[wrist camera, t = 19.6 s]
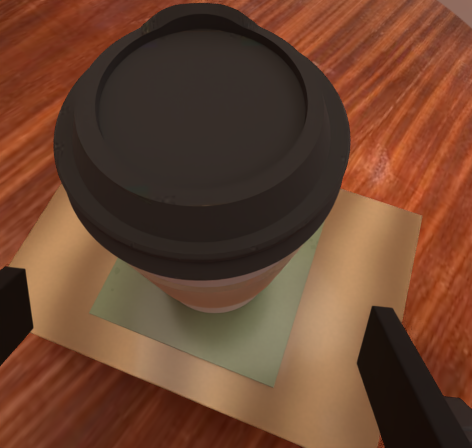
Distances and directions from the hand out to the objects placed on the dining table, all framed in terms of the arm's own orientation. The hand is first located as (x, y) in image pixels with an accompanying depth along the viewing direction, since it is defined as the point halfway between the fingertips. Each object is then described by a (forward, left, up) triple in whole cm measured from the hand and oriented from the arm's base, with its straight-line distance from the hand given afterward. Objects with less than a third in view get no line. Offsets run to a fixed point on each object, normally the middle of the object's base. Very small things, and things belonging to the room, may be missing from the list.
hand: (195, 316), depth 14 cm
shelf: (+1, -5, -17) cm, 18 cm away
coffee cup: (+1, -5, -8) cm, 10 cm away
